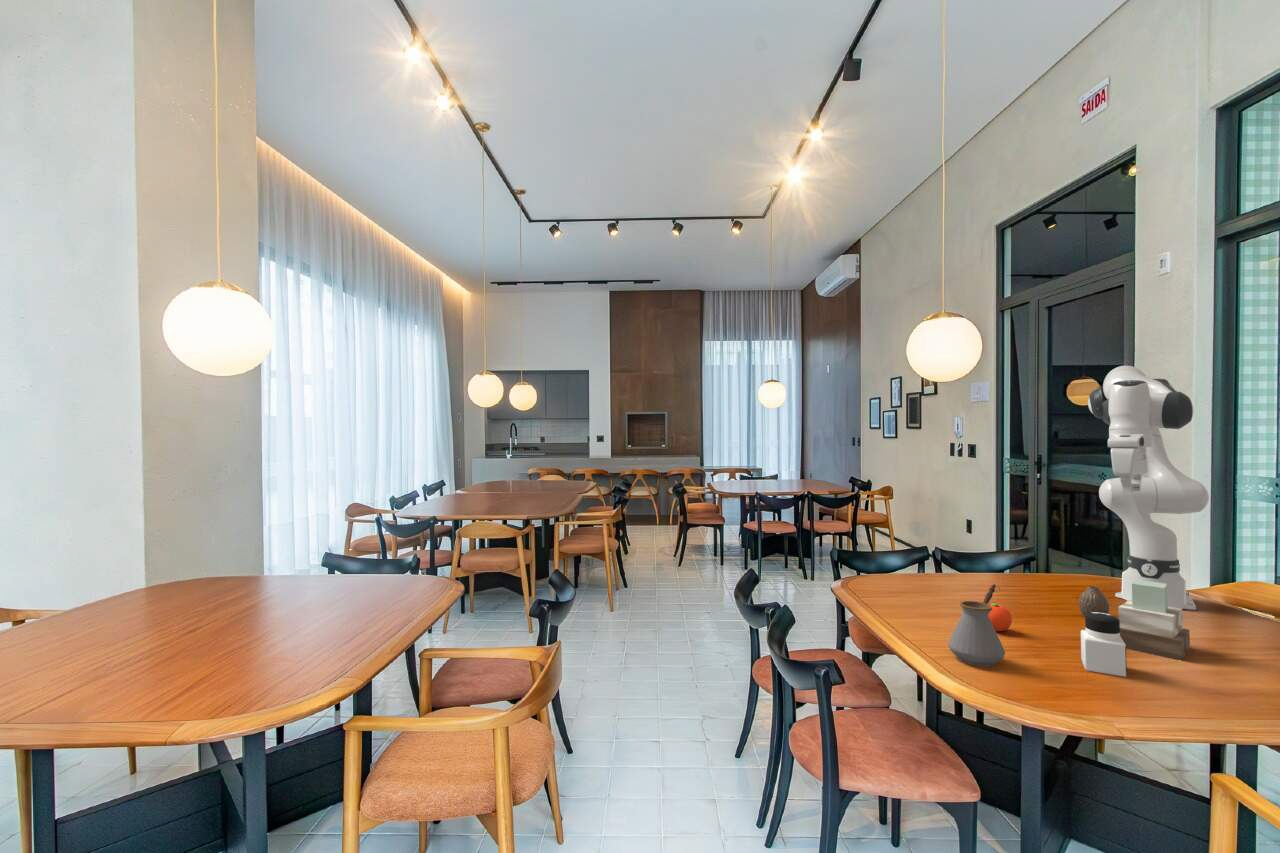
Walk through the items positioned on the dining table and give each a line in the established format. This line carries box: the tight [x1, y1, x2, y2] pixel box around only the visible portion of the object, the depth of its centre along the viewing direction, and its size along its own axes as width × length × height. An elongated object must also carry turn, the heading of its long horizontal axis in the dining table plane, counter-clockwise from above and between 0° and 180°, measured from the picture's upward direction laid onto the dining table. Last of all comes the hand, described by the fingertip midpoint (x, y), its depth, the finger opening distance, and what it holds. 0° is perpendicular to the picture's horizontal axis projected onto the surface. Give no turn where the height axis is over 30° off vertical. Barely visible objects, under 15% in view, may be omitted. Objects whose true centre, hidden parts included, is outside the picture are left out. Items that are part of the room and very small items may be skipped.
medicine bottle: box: [1080, 612, 1128, 678], centre depth 127 cm, size 7×7×12 cm
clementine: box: [988, 603, 1013, 632], centre depth 153 cm, size 8×7×7 cm
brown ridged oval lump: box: [1078, 585, 1110, 617], centre depth 163 cm, size 7×7×9 cm
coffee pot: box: [947, 583, 1006, 667], centre depth 136 cm, size 21×12×15 cm, turn 133°
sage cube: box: [1132, 580, 1168, 613], centre depth 140 cm, size 6×6×6 cm
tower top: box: [1117, 600, 1184, 638], centre depth 140 cm, size 10×10×5 cm
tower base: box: [1120, 627, 1191, 662], centre depth 140 cm, size 12×12×5 cm
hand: (1131, 491), depth 152 cm, fingers open, 8 cm apart
